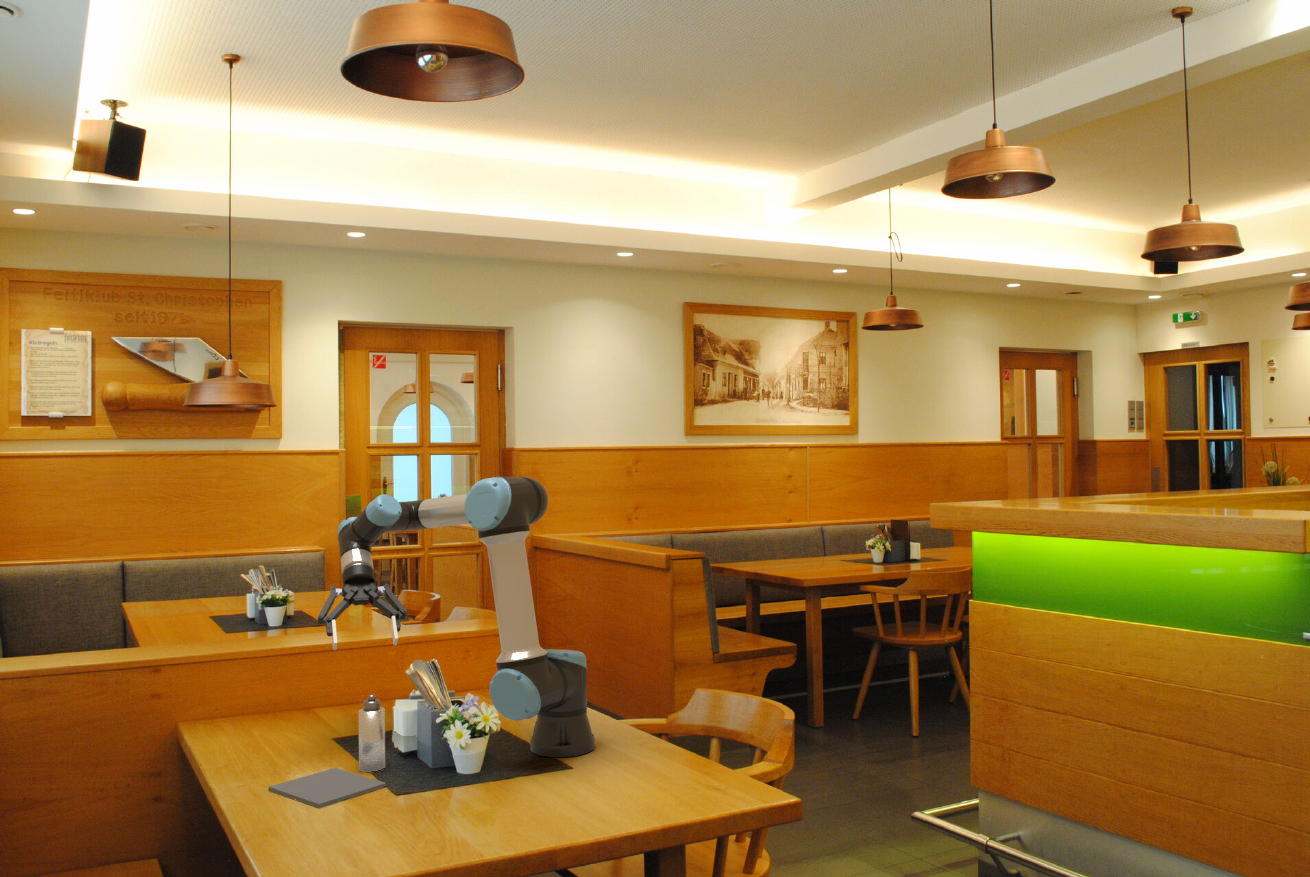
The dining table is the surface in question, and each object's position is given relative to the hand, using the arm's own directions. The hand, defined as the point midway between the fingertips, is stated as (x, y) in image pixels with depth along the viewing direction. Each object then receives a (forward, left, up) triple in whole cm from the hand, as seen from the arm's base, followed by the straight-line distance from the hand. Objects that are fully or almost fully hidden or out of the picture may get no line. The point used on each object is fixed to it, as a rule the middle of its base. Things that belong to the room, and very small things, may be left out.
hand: (365, 644), depth 232 cm
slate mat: (-12, +19, -26) cm, 34 cm away
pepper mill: (-8, +5, -26) cm, 28 cm away
